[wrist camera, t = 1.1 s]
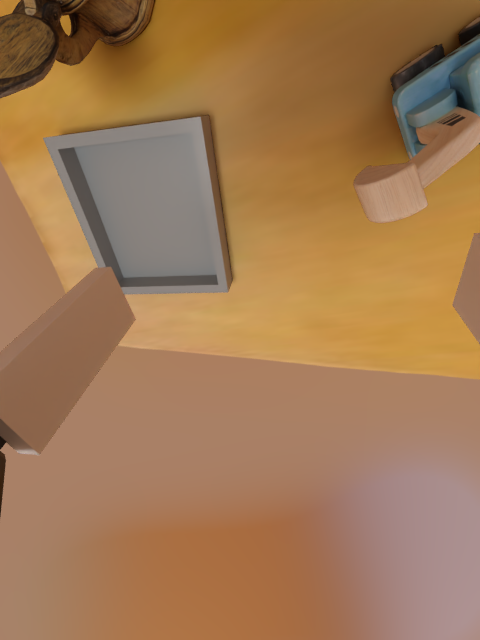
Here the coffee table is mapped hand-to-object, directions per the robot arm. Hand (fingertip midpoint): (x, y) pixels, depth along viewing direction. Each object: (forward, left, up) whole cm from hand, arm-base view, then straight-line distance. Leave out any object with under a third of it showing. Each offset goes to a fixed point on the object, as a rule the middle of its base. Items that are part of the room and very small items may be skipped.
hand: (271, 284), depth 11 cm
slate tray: (+5, -17, -28) cm, 33 cm away
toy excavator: (-3, +13, -28) cm, 31 cm away
